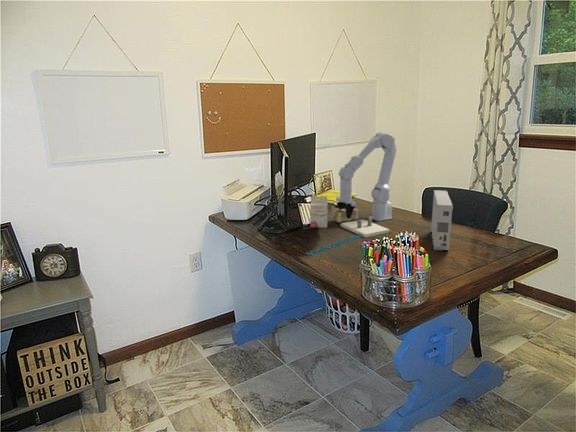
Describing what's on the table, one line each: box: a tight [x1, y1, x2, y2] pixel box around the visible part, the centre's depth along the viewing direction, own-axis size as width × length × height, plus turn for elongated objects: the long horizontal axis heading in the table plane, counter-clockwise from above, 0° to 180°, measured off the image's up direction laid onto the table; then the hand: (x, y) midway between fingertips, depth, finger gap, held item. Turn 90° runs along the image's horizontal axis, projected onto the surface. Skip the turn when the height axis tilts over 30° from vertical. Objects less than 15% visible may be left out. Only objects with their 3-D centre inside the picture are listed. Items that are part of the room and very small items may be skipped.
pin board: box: [340, 217, 391, 238], centre depth 202 cm, size 14×20×5 cm
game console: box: [430, 189, 454, 251], centre depth 180 cm, size 6×27×20 cm, turn 164°
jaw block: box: [332, 207, 359, 223], centre depth 215 cm, size 5×12×5 cm, turn 117°
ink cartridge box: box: [309, 196, 328, 229], centre depth 207 cm, size 9×5×15 cm, turn 84°
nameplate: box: [304, 234, 363, 256], centre depth 183 cm, size 37×1×5 cm
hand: (345, 216), depth 215 cm, fingers closed on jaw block, 5 cm apart
